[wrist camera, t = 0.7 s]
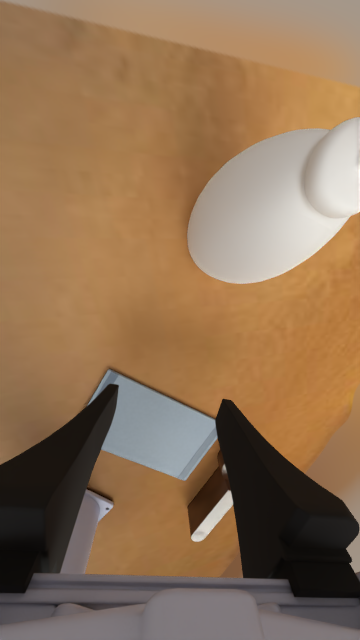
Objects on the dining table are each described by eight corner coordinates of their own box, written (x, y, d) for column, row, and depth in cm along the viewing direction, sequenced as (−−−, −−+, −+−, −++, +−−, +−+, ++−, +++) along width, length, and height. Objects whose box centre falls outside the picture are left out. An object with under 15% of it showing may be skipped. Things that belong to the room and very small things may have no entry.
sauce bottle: (261, 222, 20) (860, -85, 3) (233, 290, 22) (516, 352, 4) (196, 191, 19) (583, -724, 2) (170, 265, 20) (222, 217, 3)
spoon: (205, 516, 30) (210, 546, 27) (176, 507, 29) (177, 536, 26) (260, 448, 28) (273, 471, 25) (231, 434, 27) (241, 456, 24)
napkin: (184, 478, 28) (185, 481, 28) (69, 435, 24) (68, 437, 24) (226, 424, 26) (226, 426, 26) (108, 368, 23) (108, 369, 22)
